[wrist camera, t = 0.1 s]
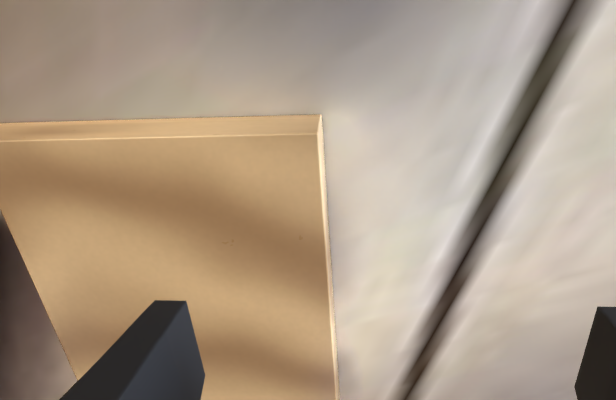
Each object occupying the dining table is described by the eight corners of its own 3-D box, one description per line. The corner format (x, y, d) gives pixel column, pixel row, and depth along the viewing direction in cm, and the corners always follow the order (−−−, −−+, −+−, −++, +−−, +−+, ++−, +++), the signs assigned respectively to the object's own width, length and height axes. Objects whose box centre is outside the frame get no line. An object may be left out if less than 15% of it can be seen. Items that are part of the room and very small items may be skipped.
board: (345, 480, 30) (343, 508, 29) (138, 469, 32) (128, 495, 31) (321, 113, 19) (317, 133, 17) (-7, 122, 20) (-32, 141, 19)
